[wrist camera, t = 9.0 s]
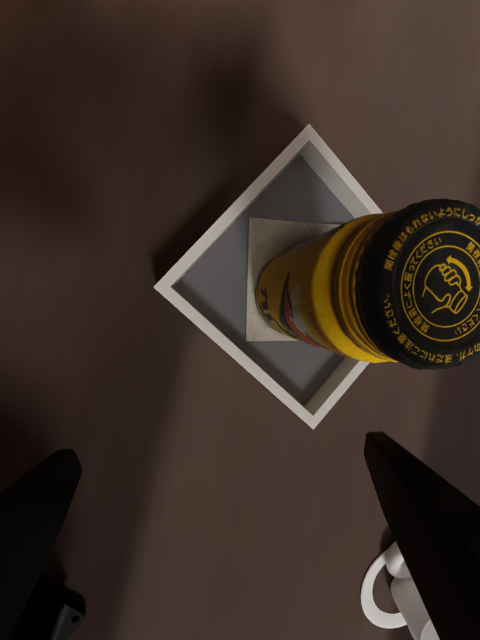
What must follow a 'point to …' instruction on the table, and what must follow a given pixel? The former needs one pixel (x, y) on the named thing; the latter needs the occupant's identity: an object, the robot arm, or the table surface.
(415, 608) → the white ring with post
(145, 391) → the table surface
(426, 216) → the condiment
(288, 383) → the tray
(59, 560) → the table surface
